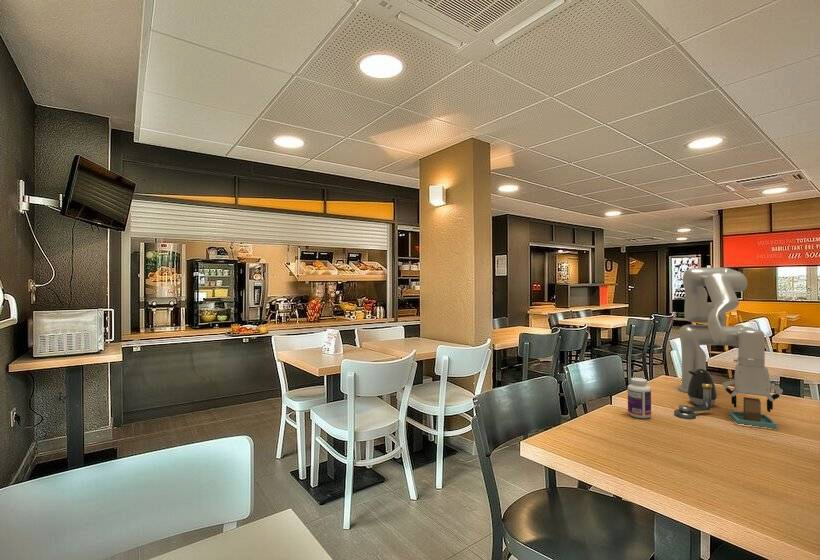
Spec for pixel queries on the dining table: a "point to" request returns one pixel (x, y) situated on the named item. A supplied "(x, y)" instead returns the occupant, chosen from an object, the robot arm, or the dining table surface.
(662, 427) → the dining table surface
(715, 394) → the black tapered rounded piece
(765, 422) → the tray
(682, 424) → the dining table surface
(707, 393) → the crank
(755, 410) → the block
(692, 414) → the crank base
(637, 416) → the pill bottle
